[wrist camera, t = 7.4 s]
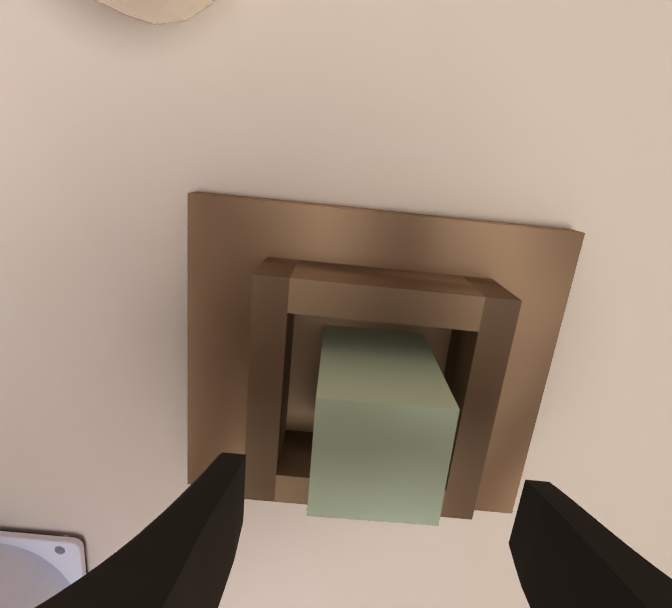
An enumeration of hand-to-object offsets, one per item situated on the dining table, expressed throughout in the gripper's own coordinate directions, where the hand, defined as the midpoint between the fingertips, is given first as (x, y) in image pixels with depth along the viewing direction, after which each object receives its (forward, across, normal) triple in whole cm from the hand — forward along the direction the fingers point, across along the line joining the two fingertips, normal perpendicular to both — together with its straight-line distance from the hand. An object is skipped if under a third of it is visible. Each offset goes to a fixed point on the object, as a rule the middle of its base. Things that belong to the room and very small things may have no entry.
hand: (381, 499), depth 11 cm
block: (+8, 0, 0) cm, 8 cm away
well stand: (+8, 0, 0) cm, 8 cm away
